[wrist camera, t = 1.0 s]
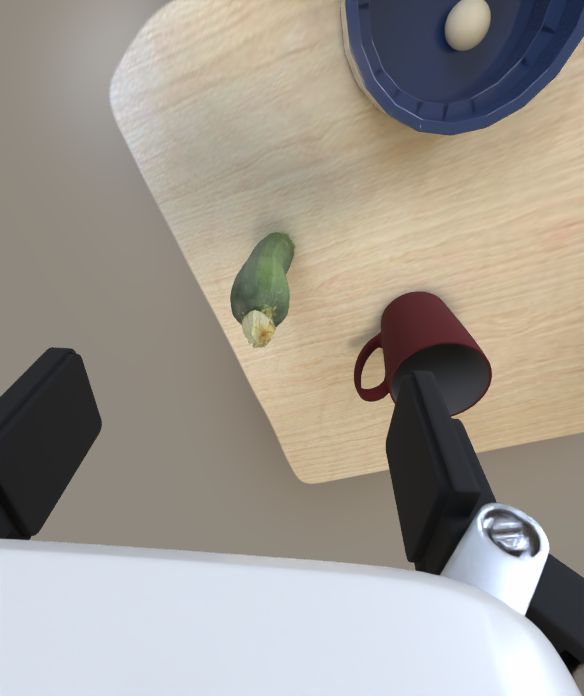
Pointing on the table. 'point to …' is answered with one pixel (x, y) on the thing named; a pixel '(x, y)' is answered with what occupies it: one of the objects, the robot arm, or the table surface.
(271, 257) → the vegetable
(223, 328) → the table surface
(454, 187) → the table surface
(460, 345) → the mug
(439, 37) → the mixing bowl
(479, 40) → the dumpling
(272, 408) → the table surface
